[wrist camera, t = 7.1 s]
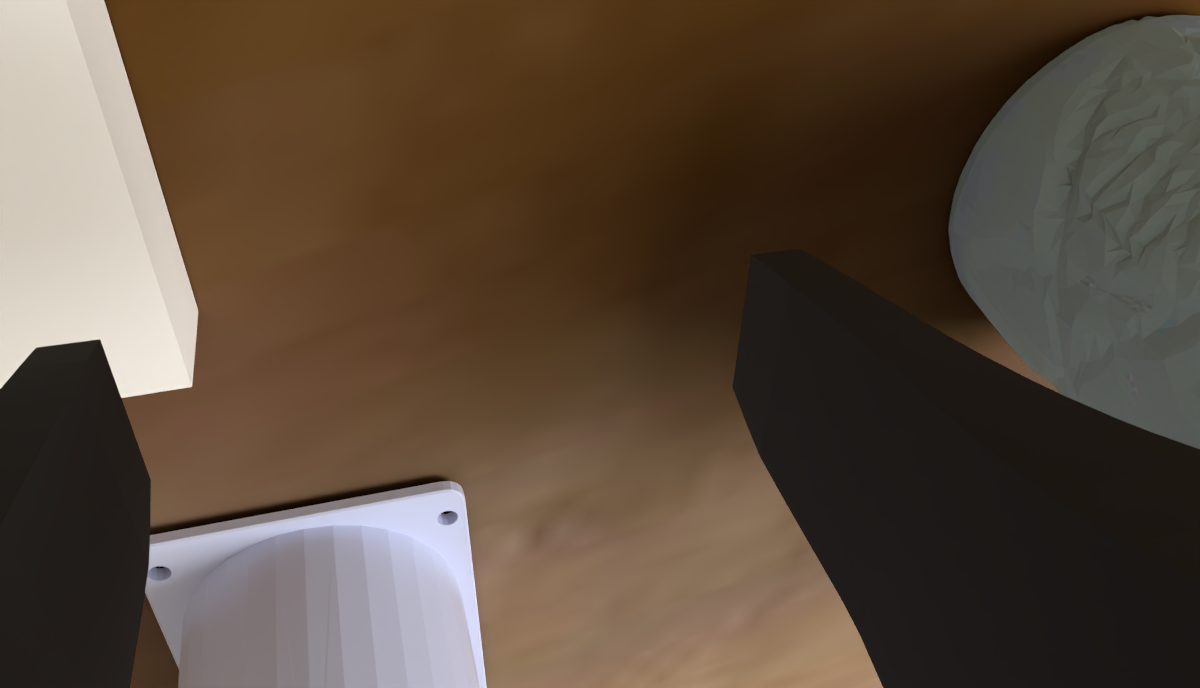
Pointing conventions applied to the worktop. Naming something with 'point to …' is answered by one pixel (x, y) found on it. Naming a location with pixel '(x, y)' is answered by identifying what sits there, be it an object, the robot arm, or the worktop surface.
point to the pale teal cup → (1096, 223)
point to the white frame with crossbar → (84, 205)
